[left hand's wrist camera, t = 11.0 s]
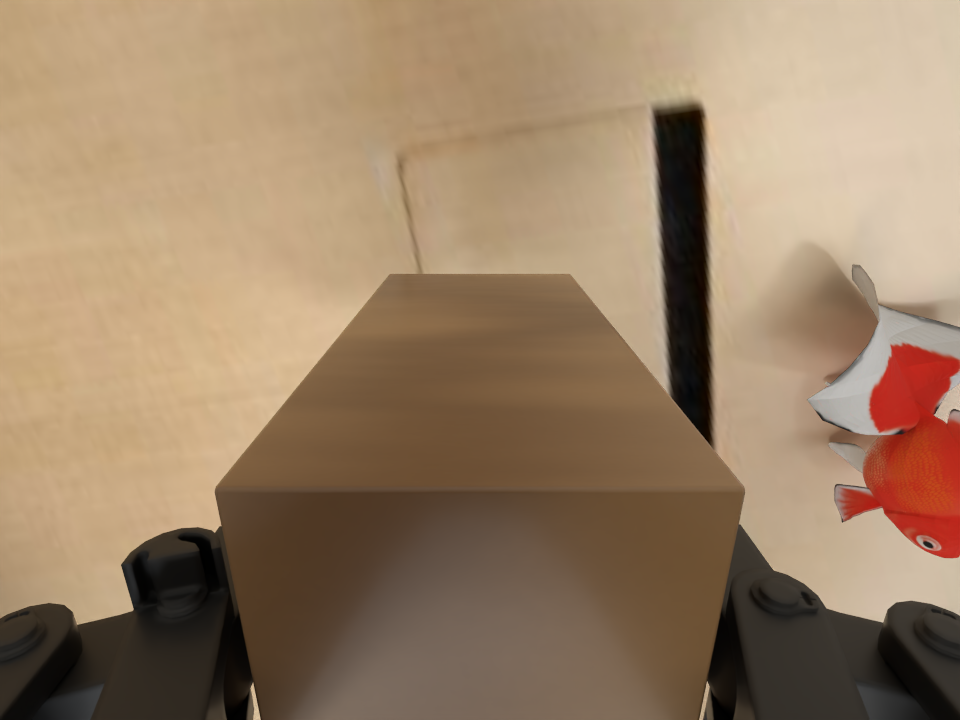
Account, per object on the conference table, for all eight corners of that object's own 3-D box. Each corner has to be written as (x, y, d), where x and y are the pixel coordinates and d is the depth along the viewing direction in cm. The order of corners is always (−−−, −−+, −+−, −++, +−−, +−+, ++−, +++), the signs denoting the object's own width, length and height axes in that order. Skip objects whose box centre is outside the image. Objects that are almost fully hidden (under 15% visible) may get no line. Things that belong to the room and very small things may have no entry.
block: (570, 273, 17) (748, 488, 6) (558, 477, 19) (664, 899, 8) (389, 273, 17) (211, 488, 6) (401, 478, 19) (295, 900, 8)
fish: (756, 563, 30) (966, 628, 20) (719, 289, 31) (900, 231, 22) (891, 532, 33) (1124, 575, 24) (852, 286, 35) (1058, 235, 25)
